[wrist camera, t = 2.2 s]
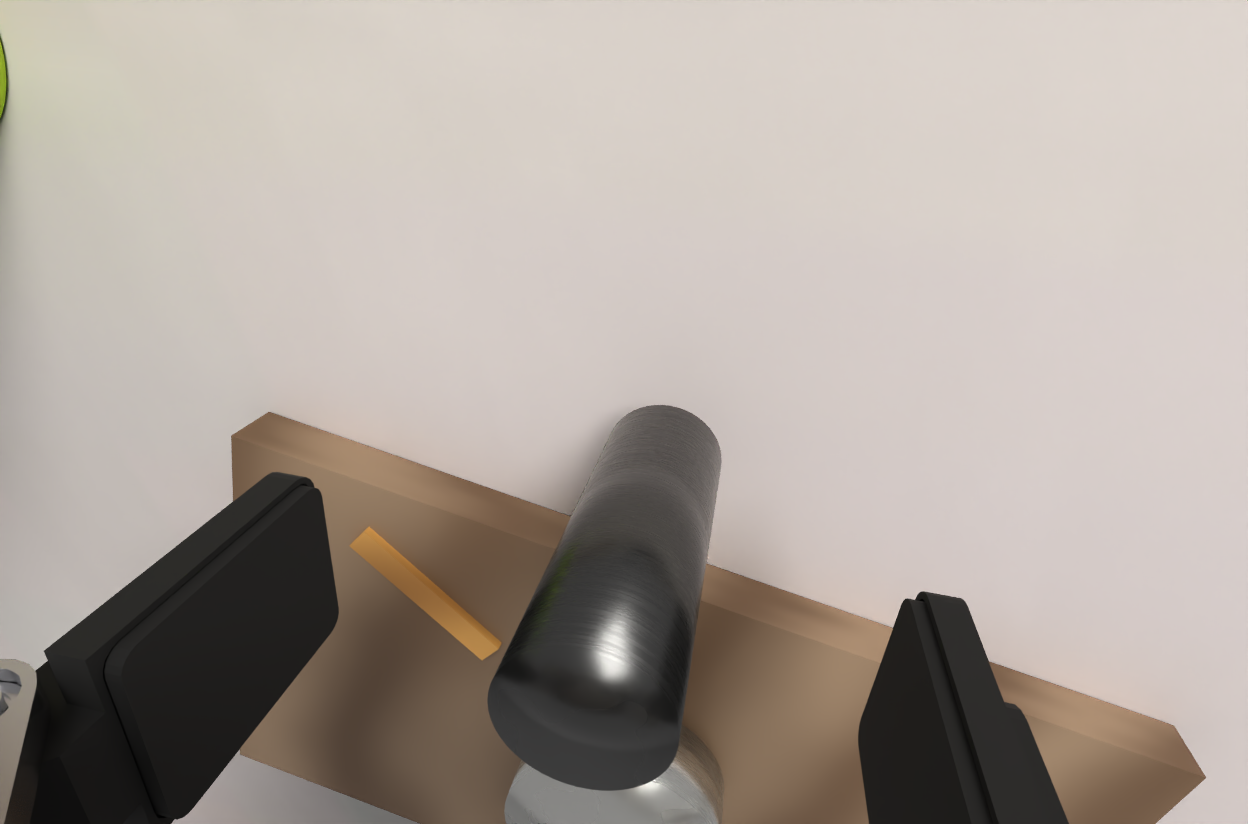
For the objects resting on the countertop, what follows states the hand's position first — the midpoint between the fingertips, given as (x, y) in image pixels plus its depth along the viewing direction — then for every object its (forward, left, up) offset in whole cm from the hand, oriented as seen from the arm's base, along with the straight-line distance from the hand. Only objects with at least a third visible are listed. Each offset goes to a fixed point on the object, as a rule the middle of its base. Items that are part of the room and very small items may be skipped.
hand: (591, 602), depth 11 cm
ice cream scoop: (-2, +6, -5) cm, 8 cm away
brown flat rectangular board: (-2, +11, -7) cm, 13 cm away
